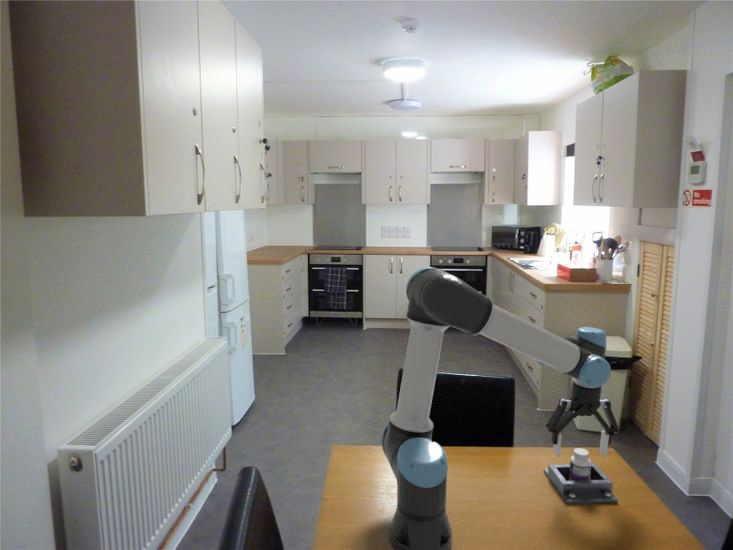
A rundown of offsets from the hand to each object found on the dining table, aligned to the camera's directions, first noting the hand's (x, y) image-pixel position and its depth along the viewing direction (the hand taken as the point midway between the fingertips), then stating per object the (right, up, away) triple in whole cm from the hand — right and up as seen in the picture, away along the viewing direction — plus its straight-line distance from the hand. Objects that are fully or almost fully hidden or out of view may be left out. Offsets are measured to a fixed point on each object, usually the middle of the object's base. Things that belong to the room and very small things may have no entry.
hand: (579, 454), depth 142 cm
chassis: (0, -10, +2) cm, 10 cm away
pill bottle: (0, -9, +1) cm, 9 cm away
